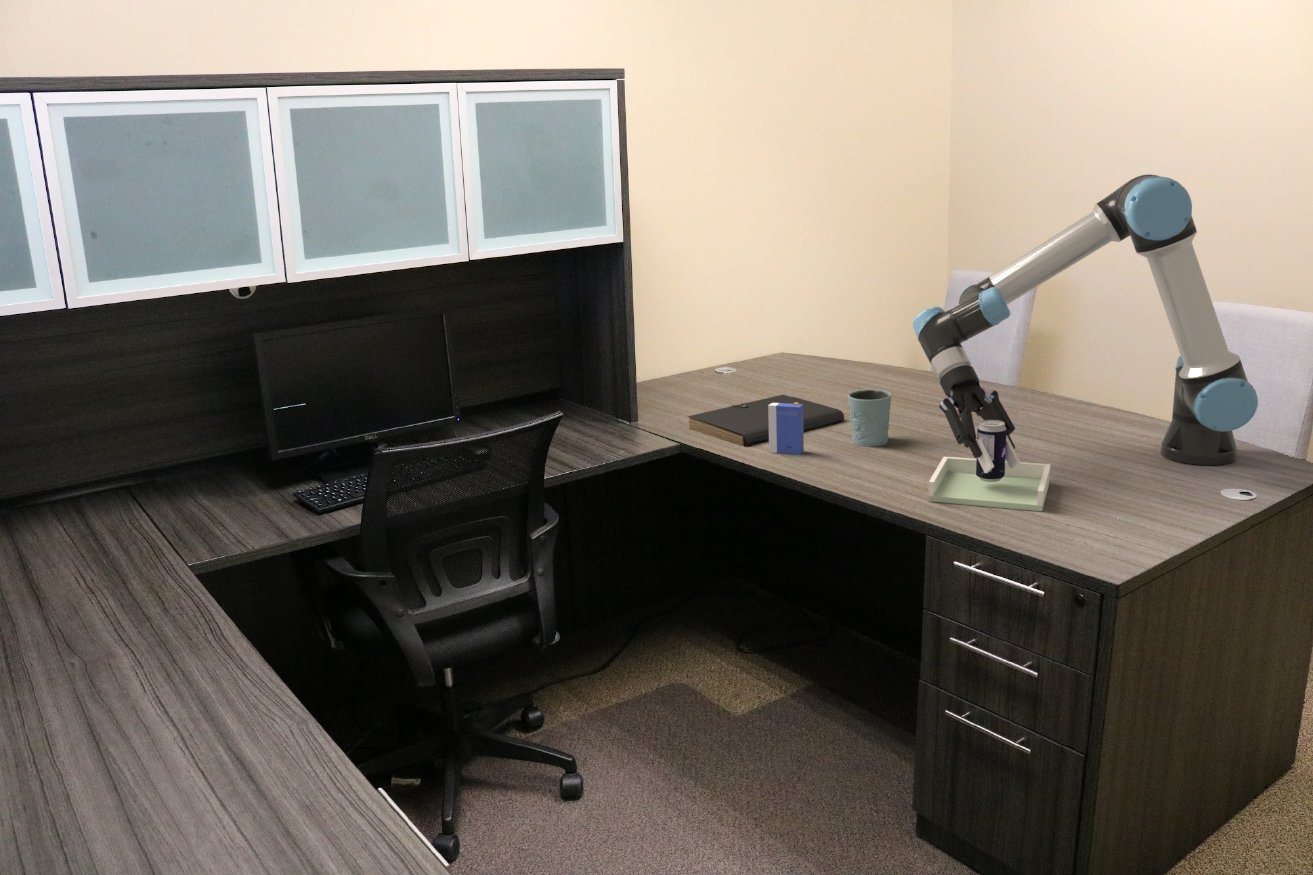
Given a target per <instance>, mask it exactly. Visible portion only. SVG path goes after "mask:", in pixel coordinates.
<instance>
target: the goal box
mask: <svg viewBox="0 0 1313 875" xmlns="http://www.w3.org/2000/svg"><path fill="white" fill-rule="evenodd" d="M1051 466H1052V465H1051V463H1039V462H1038V463H1036V462H1024V461H1023V462H1022V461H1020V462H1019V463H1018V464H1017V465H1016V466H1015V467H1014V468H1010V466H1009V464H1008V462H1007V460H1005V476H1004V477H1003V478H1001V480H1000V481H997V482H986V481H982V480H980V478H979V477H978V476H977V475H976V458H970V457H957V456H942V459H941V460H940V462H939V464H937V467H936V468H935V471H934V472H933V473H932V475H931V478H930V479H929V481H928V496H927V498H928V499H927V500H928V501H927V502H933V503H943V504H956V505H966V506H976V507H977V506H978V507H986V508H998V509H999V508H1000V509H1008V510H1009V509H1011V510H1022V511H1033V512H1043V510H1044V506H1045V501H1046V500H1047V495H1048V490H1049V487H1050V482H1051V481H1050V480H1051Z"/></svg>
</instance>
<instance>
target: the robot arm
mask: <svg viewBox="0 0 1313 875" xmlns="http://www.w3.org/2000/svg"><path fill="white" fill-rule="evenodd" d="M1192 202H1193V201H1192V198H1191V196H1190V194H1189V192H1188V191H1187V189H1186V188H1185V187H1184V186H1183V185H1182V183H1180V182H1179V181H1177V180H1175V179H1173V178H1170V177H1167V176H1160V175H1156V174H1142V175H1141V174H1140V175H1139V176H1135V177H1134V178H1131V179H1130V180H1129V181H1127V182H1125V183H1124V184H1122V185H1121V186H1120V187H1119V188H1117V189H1116V190H1114V191H1113V192H1111V193H1110V194H1109V195H1107V196H1105V197H1104V198H1103V199H1101V200H1100V201H1098V202H1096V203H1095V204H1093V205H1094V206H1093V210H1092V211H1091V212H1090V213H1088V214H1087V215H1085V216H1083V217H1082V218H1080V219H1078V220H1077V221H1076V222H1073V223H1072V224H1071V225H1069V226H1067V227H1066V228H1064V229H1062V230H1061V231H1059V232H1058V233H1056V234H1055V235H1053V236H1051V237H1050V238H1048V239H1047V240H1045V241H1043V242H1042V243H1040V244H1038V245H1037V246H1035V247H1033V248H1031V249H1030V250H1029V251H1027V252H1026V253H1024V254H1023V255H1021V256H1019V257H1017V258H1016V259H1014V260H1013V261H1012V262H1010V263H1009V264H1006V265H1005V266H1003V267H1002V268H1000V269H999V270H997V271H995V272H994V273H992V274H990V275H989V276H988V277H987V278H984V279H983V280H981V281H980V282H978V283H977V284H975V283H974V284H971V285H969V286H967V287H966V288H964V289H963V291H962V292H961V293H960V296H959V299H958V305H956V306H954V307H953V308H951V309H948V310H947V311H945V310H944V308H942V307H940V306H932V307H930V308H926V309H924V310H922V311H920V312H919V313H917V315H916V316H915V318H914V319H913V321H912V327H913V330H914V332H915V334H916V337H917V340H918V342H919V344H920V346H921V347H922V351H923V352H924V354H925V356H926V358H927V360H928V362H929V364H930V366H931V368H932V369H933V372H934V374H935V376H936V378H937V380H939V385H940V387H941V388H942V391H943V392H944V395H945V396H946V397H947V398H946V397H945V398H944V399H943V400H942V401H941V402H940V403H939V405H938V408H939V409H941V411H942V412H943V414H944V415H945V417H946V419H947V421H948V424H949V427H950V429H951V431H952V433H953V435H954V438H955V441H956V442H957V444H958V445H962V444H963V446H964V447H965V448H969V449H970V452H971V453H972V456H973V457H974V459H976V458H978V460H979V462H980V464H981V466H982V468H983V471H984V473H988V472H989V471H990V470H991V469H992V468H993V467H994V465H993V463H992V461H991V458H990V456H989V454H988V452H987V450H986V448H985V446H984V444H983V442H982V440H981V439H978V440H977V433H976V430H975V423H974V419H973V414H972V413H975V415H977V416H978V417H980V418H981V419H982V421H984V420H999V421H1002V422H1004V423H1005V427H1006V429H1007V433H1006V456H1005V461H1007V462H1008V464H1009V466H1010V468H1014V467H1015V466H1016V465H1017V464H1018V463H1019V462H1021V460H1020V458H1019V456H1018V454H1017V452H1016V450H1015V449H1016V446H1015V444H1014V441H1013V440H1012V438H1011V436H1010V435H1011V434H1012V433H1013V432H1014V431H1015V430H1016V427H1015V425H1014V423H1013V422H1012V420H1011V419H1010V416H1009V414H1008V412H1007V411H1006V410H1005V408H1004V406H1003V404H1002V402H1001V400H1000V397H999V396H1000V395H999V392H998V391H997V390H992V391H991V392H989V391H987V392H986V391H985V390H984V388H982V387H981V385H980V379H979V376H978V375H977V373H976V371H975V369H974V367H973V366H972V362H971V361H970V358H969V357H968V354H967V353H966V351H965V349H964V347H963V345H962V343H964V342H967V341H968V340H970V339H971V338H973V337H976V336H977V335H979V334H982V333H983V332H985V331H987V330H988V329H990V328H992V327H995V326H998V325H999V324H1000V323H1002V322H1003V321H1005V320H1007V319H1008V318H1010V316H1011V310H1010V308H1009V307H1008V305H1009V304H1010V303H1012V302H1014V301H1015V300H1017V299H1019V298H1020V297H1022V296H1024V295H1025V294H1027V293H1028V292H1030V291H1032V290H1034V289H1035V288H1037V287H1039V286H1040V285H1042V284H1044V283H1045V282H1047V281H1049V280H1050V279H1052V278H1053V277H1055V276H1056V275H1058V274H1060V273H1062V272H1064V271H1066V270H1067V269H1069V268H1070V267H1071V266H1073V265H1075V264H1076V263H1078V262H1080V261H1081V260H1083V259H1086V257H1088V256H1090V255H1091V254H1093V253H1095V252H1096V251H1098V250H1100V249H1101V248H1102V247H1105V246H1106V245H1108V244H1109V243H1111V242H1116V243H1120V242H1122V241H1123V240H1125V239H1127V238H1129V237H1130V239H1131V241H1132V245H1133V247H1134V250H1135V253H1136V254H1137V255H1139V256H1142V257H1144V258H1146V259H1147V263H1148V264H1149V268H1150V271H1151V274H1152V276H1153V279H1154V282H1155V285H1156V288H1157V291H1158V294H1159V297H1160V300H1161V303H1162V305H1163V309H1164V311H1165V313H1166V316H1167V320H1168V323H1169V326H1170V329H1171V331H1172V335H1173V337H1174V340H1175V343H1176V345H1177V348H1178V352H1179V354H1180V355H1179V357H1178V358H1177V360H1176V366H1175V369H1174V370H1175V378H1174V380H1175V381H1174V391H1173V402H1172V403H1173V404H1172V417H1171V421H1170V423H1169V425H1168V428H1167V429H1166V432H1165V434H1164V436H1163V439H1162V441H1161V445H1160V454H1161V455H1162V457H1164V458H1166V459H1168V460H1171V461H1175V462H1179V463H1184V464H1190V465H1198V466H1199V465H1200V466H1219V465H1226V464H1229V463H1233V462H1235V461H1236V459H1237V455H1238V454H1237V452H1238V448H1237V444H1236V440H1235V436H1234V431H1235V430H1238V429H1240V428H1242V427H1243V426H1245V425H1247V424H1248V423H1249V422H1250V421H1251V420H1252V418H1254V416H1255V415H1256V413H1257V410H1258V406H1259V398H1258V395H1257V390H1256V389H1255V388H1254V386H1253V385H1252V384H1251V383H1250V382H1249V381H1248V378H1247V374H1246V371H1245V370H1244V367H1243V363H1242V360H1241V357H1240V356H1239V354H1236V353H1234V352H1231V351H1229V348H1228V345H1227V343H1226V339H1225V335H1224V333H1223V331H1222V328H1221V324H1220V321H1219V319H1218V315H1217V313H1216V310H1215V307H1214V303H1213V301H1212V298H1211V295H1210V293H1209V289H1208V287H1207V283H1206V280H1205V278H1204V275H1203V271H1202V268H1201V265H1200V263H1199V260H1198V257H1197V254H1196V251H1195V249H1194V245H1193V240H1194V239H1195V237H1196V236H1197V233H1198V231H1197V227H1196V224H1195V221H1194V218H1193V216H1192V214H1193V203H1192Z"/></svg>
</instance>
